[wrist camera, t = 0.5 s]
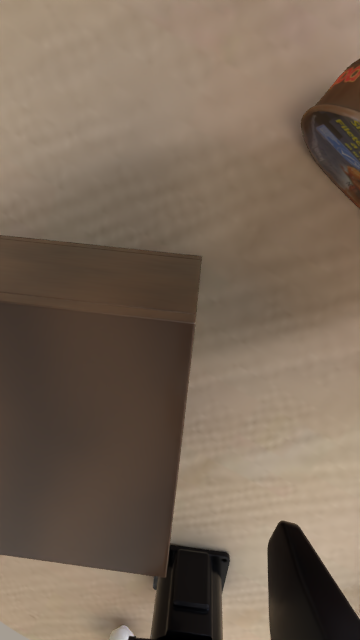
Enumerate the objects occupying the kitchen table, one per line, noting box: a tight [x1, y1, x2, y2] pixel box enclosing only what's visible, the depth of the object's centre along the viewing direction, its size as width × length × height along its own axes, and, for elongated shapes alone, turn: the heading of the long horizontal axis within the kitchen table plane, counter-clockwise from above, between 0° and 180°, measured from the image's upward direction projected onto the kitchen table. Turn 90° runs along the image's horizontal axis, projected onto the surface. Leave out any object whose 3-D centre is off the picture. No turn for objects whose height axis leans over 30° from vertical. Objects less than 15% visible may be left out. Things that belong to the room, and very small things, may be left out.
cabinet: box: [0, 235, 202, 578], centre depth 19 cm, size 14×15×9 cm
